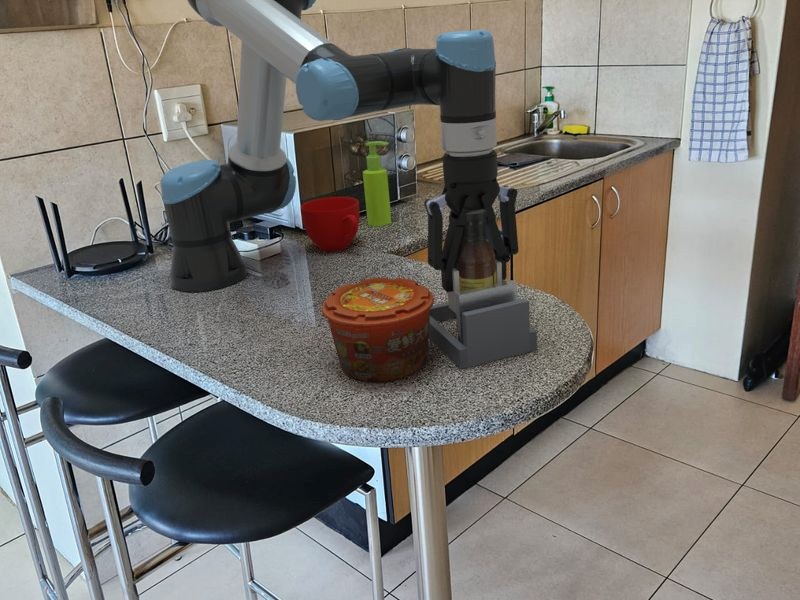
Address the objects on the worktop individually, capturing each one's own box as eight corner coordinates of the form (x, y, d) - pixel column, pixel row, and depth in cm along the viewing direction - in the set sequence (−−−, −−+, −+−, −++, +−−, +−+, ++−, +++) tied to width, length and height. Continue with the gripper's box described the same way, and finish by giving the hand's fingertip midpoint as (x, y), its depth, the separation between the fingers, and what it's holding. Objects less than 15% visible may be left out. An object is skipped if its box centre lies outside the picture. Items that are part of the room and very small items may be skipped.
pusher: (458, 355, 102) (455, 292, 98) (513, 341, 105) (512, 280, 101) (462, 358, 101) (458, 295, 97) (517, 344, 104) (516, 282, 100)
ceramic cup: (333, 264, 145) (328, 218, 142) (295, 248, 158) (289, 205, 155) (384, 249, 152) (380, 205, 148) (343, 234, 165) (339, 193, 161)
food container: (307, 376, 100) (297, 308, 96) (369, 332, 112) (362, 270, 108) (401, 399, 92) (394, 325, 88) (457, 349, 104) (453, 282, 100)
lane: (413, 324, 114) (409, 278, 111) (481, 308, 117) (479, 264, 114) (460, 369, 98) (457, 317, 95) (536, 349, 102) (536, 299, 99)
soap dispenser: (390, 226, 168) (383, 143, 161) (364, 226, 171) (356, 144, 163) (398, 219, 173) (391, 139, 166) (372, 219, 176) (365, 140, 168)
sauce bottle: (471, 322, 110) (468, 200, 102) (505, 331, 106) (504, 204, 99) (447, 337, 105) (442, 210, 98) (482, 347, 101) (479, 216, 94)
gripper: (415, 165, 89) (426, 328, 98) (544, 145, 95) (544, 300, 103) (394, 156, 96) (407, 309, 104) (517, 138, 101) (519, 285, 110)
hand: (475, 305), depth 104 cm, fingers closed on sauce bottle, 6 cm apart
